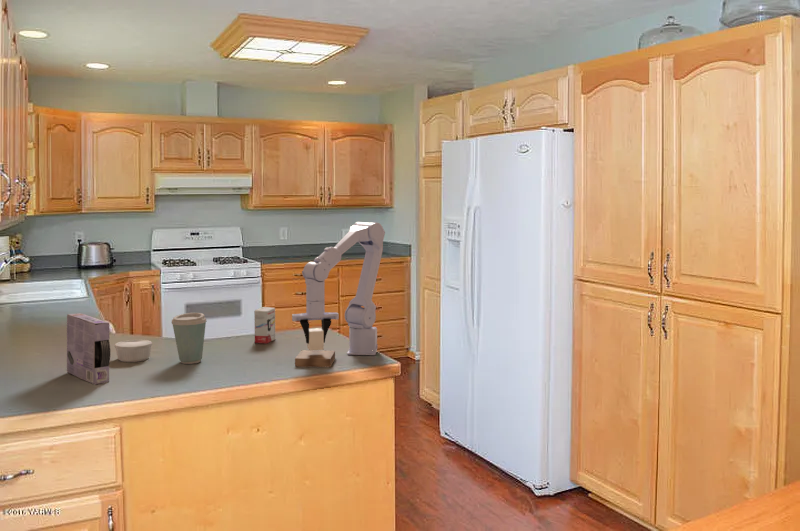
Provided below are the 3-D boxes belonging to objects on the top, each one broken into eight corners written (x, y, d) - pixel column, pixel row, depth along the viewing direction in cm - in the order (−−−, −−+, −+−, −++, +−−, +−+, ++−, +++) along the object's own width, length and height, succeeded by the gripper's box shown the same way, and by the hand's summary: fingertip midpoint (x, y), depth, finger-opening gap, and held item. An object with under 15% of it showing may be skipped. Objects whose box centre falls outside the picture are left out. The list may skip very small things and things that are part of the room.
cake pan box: (113, 382, 197) (111, 320, 195) (95, 386, 193) (93, 323, 191) (83, 370, 210) (80, 312, 208) (65, 373, 206) (63, 314, 204)
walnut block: (335, 359, 228) (335, 350, 227) (330, 368, 217) (330, 359, 216) (301, 359, 228) (301, 350, 228) (295, 367, 217) (295, 358, 217)
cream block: (321, 346, 225) (321, 328, 224) (323, 349, 220) (323, 331, 220) (307, 347, 224) (307, 328, 223) (309, 350, 219) (309, 331, 219)
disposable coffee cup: (193, 367, 214) (192, 319, 213) (164, 363, 218) (163, 316, 216) (214, 359, 224) (213, 313, 223) (186, 356, 228) (185, 311, 226)
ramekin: (143, 353, 232) (142, 337, 232) (158, 359, 224) (158, 343, 224) (109, 358, 224) (108, 342, 224) (124, 365, 216) (123, 348, 216)
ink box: (266, 344, 247) (266, 311, 246) (253, 343, 248) (253, 310, 247) (275, 338, 256) (275, 307, 254) (263, 338, 257) (263, 306, 255)
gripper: (335, 297, 226) (335, 338, 228) (290, 298, 222) (291, 340, 224) (340, 300, 219) (339, 343, 221) (293, 302, 215) (293, 345, 217)
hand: (315, 342), depth 222 cm, fingers closed on cream block, 4 cm apart
